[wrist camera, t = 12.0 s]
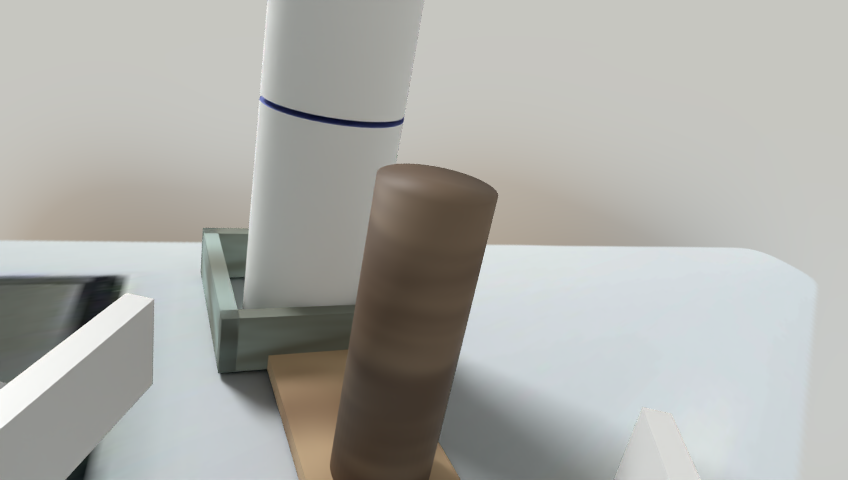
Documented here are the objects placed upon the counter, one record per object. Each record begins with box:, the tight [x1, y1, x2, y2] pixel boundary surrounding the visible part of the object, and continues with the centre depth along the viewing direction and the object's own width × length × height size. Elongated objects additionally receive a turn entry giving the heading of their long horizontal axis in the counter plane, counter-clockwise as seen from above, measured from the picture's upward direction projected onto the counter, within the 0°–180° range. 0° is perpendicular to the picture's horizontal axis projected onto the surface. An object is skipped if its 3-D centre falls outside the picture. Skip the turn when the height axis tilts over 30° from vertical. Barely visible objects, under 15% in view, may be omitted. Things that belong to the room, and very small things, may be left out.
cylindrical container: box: [243, 0, 424, 309], centre depth 30 cm, size 7×7×25 cm
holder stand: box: [201, 164, 498, 480], centre depth 28 cm, size 21×11×13 cm, turn 23°
